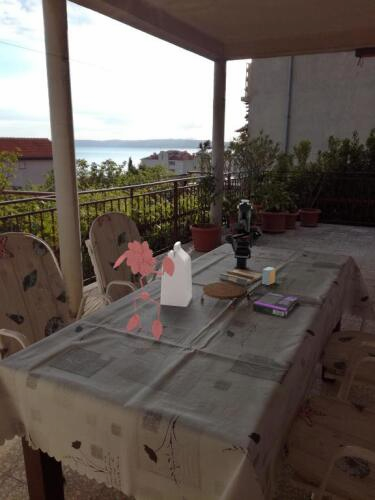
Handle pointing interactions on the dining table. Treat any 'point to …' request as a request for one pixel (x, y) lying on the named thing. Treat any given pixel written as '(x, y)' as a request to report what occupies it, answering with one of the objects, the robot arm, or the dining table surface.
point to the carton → (268, 276)
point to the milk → (177, 279)
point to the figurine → (142, 263)
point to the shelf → (240, 276)
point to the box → (275, 303)
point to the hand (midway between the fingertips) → (242, 249)
